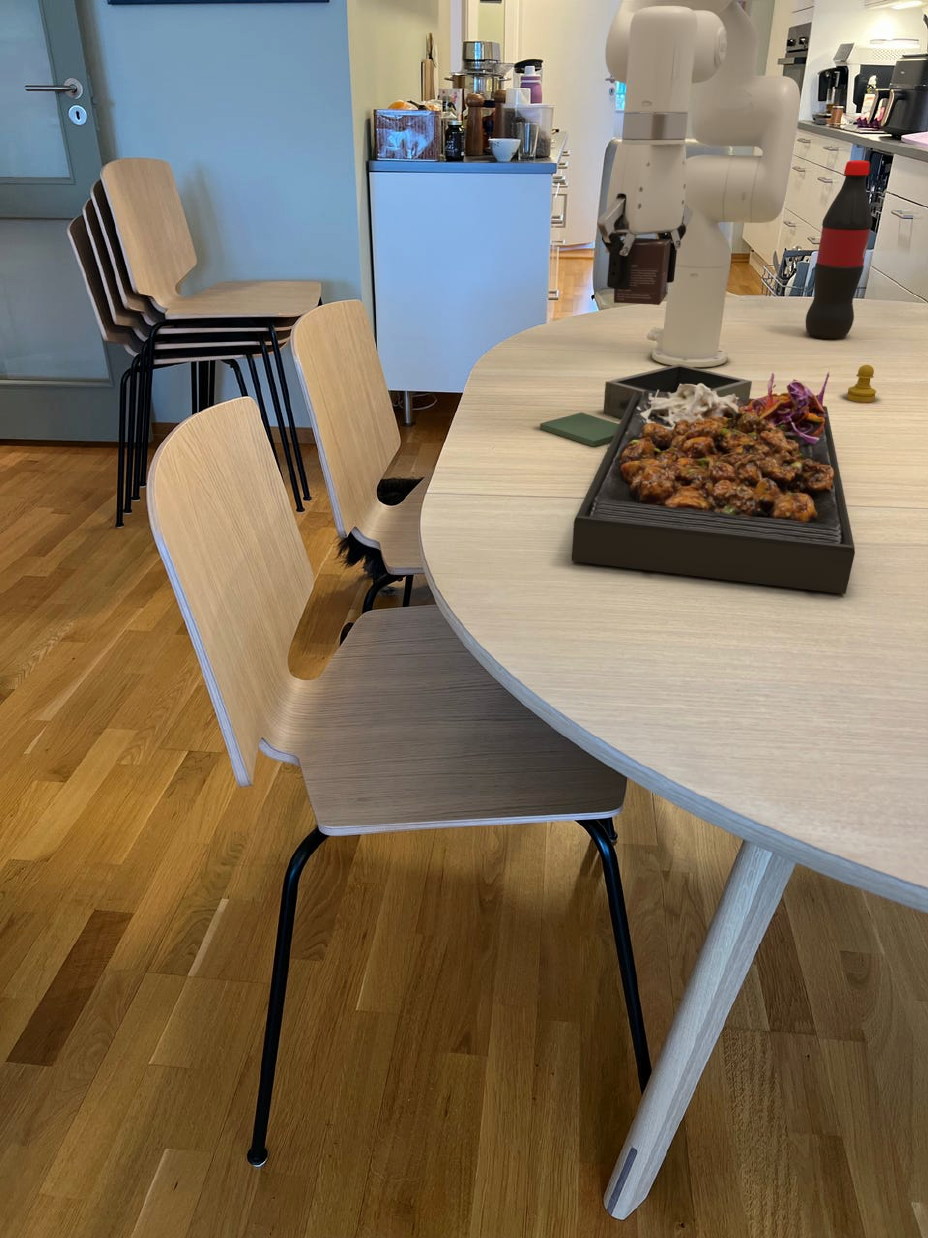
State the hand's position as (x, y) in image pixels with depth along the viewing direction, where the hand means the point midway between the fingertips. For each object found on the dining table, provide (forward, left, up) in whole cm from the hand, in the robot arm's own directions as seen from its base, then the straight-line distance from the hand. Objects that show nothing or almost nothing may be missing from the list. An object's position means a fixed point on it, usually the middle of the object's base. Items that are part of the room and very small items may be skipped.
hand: (640, 284), depth 118 cm
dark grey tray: (+1, +9, -18) cm, 20 cm away
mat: (-1, -7, -18) cm, 20 cm away
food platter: (+24, -13, -18) cm, 33 cm away
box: (0, 0, -2) cm, 2 cm away
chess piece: (+14, +36, -18) cm, 43 cm away
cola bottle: (-13, +71, -18) cm, 74 cm away
